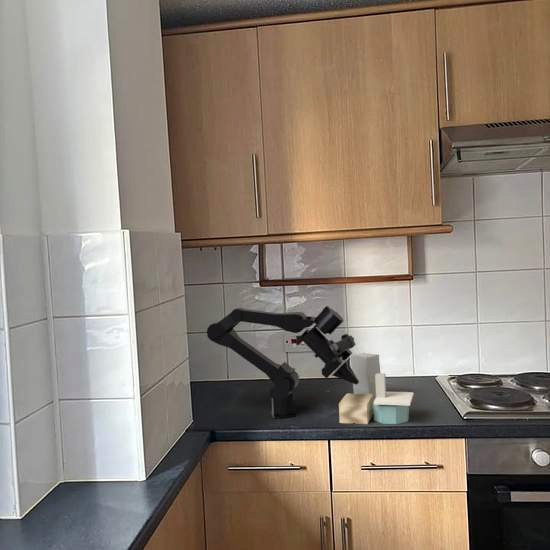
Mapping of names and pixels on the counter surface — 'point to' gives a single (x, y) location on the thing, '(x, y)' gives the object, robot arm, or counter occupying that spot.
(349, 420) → the block
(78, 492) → the counter surface
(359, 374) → the skincare box
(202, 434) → the counter surface
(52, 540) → the counter surface
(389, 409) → the bowl
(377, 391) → the lid
